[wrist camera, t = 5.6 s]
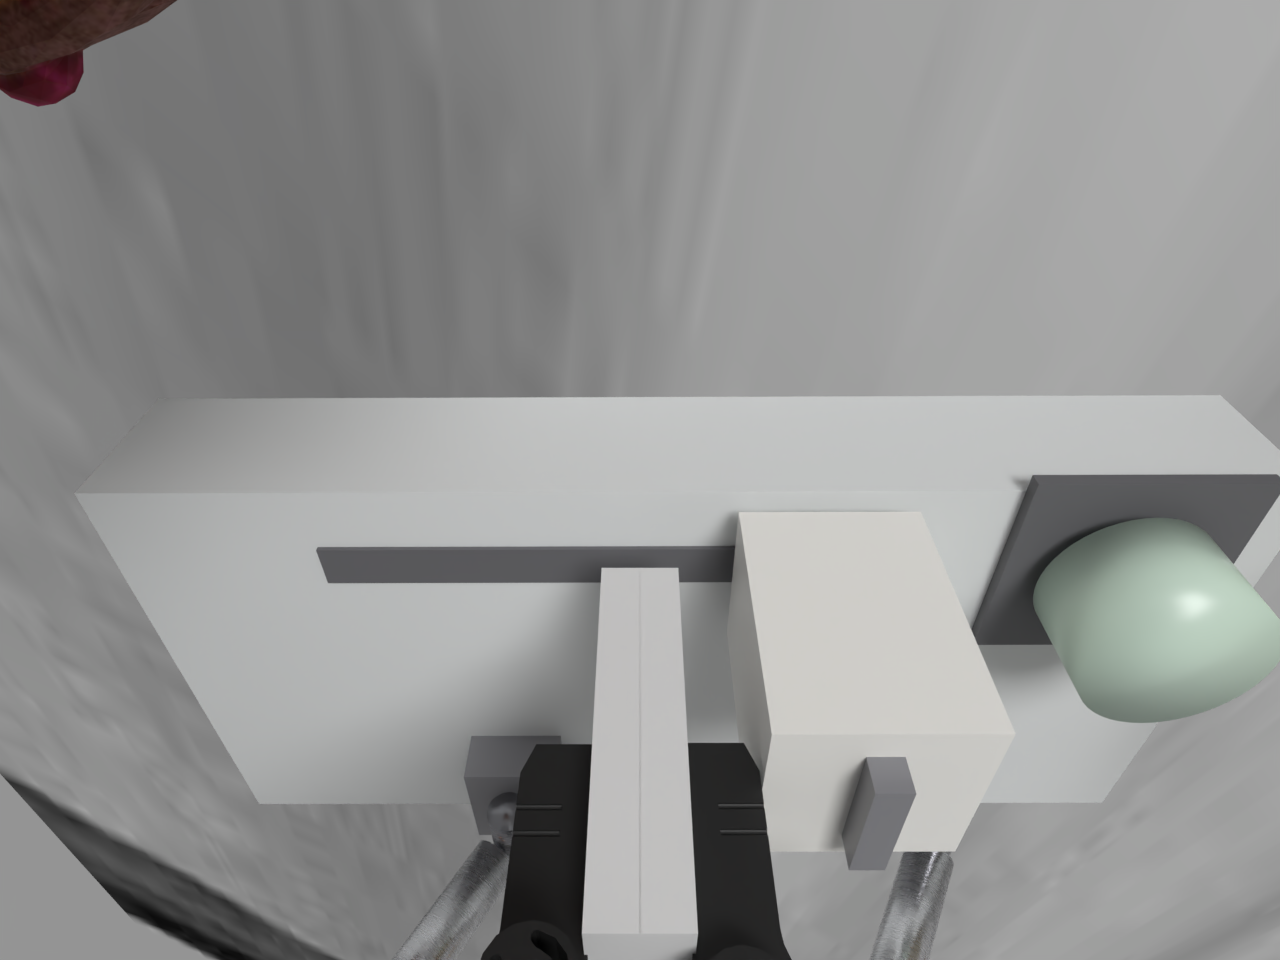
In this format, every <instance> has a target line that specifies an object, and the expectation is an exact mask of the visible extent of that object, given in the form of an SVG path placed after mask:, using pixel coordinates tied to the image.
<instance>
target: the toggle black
mask: <svg viewBox="0 0 1280 960" xmlns="http://www.w3.org/2000/svg"><path fill="white" fill-rule="evenodd" d="M950 854H951V852H903V854H902V857H901V860H900V863H899V866H898V870H897V873H896V876H895V879H894V882H893V885H892V889H891V892H890V895H889V898H888V901H887V904H886V907H885V911H884V914H883V917H882V920H881V923H880V926H879V930H878V933H877V936H876V939H875V942H874V945H873V949H872V952H871V955H870V958H869V960H929V958H930V954H931V951H932V947H933V943H934V939H935V935H936V932H937V928H938V924H939V920H940V916H941V912H942V909H943V905H944V901H945V897H946V893H947V890H948V886H949V882H950V878H951V874H952V871H953V867H954V863H953V860H952V858H951V857H950Z"/></svg>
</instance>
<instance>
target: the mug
mask: <svg viewBox="0 0 1280 960" xmlns="http://www.w3.org/2000/svg"><path fill="white" fill-rule="evenodd" d="M176 1H177V0H0V90H1V91H3V92H4V93H5V94H7V95H8V96H9V97H11V98H13V99H16V100H19V101H22V102H25V103H28V104H31V105H34V106H37V107H39V106H45V105H51V104H56V103H58V102H59V101H61V100H63V99H64V98H66V97H68V96H69V95H71V94H73V93H74V92H75V91H76V89H77V87H78V84H79V82H80V80H81V77H82V75H83V73H84V67H83V50H85V49H86V48H88V47H90V46H91V45H94V44H96V43H99V42H101V41H103V40H106V39H108V38H111V37H113V36H116V35H118V34H120V33H123V32H125V31H128V30H130V29H132V28H135V27H137V26H140V25H142V24H144V23H147V22H148V21H150V20H151V19H152V18H154V17H155V16H157V15H158V14H159V13H161V12H162V11H163V10H165V9H166V8H167V7H169V6H170V5H172V4H173V3H174V2H176Z"/></svg>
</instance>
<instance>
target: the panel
mask: <svg viewBox="0 0 1280 960" xmlns="http://www.w3.org/2000/svg"><path fill="white" fill-rule="evenodd" d="M74 494H75V496H76V497H77V499H78V501H79V502H80V504H81V506H82V507H83V509H84V511H85V512H86V514H87V516H88V517H89V519H90V521H91V522H92V524H93V526H94V527H95V529H96V531H97V533H98V534H99V536H100V538H101V539H102V541H103V543H104V544H105V546H106V548H107V549H108V551H109V553H110V554H111V556H112V558H113V559H114V561H115V563H116V564H117V566H118V568H119V569H120V571H121V573H122V574H123V576H124V578H125V580H126V581H127V583H128V585H129V586H130V588H131V590H132V591H133V593H134V595H135V596H136V598H137V600H138V601H139V603H140V605H141V606H142V608H143V610H144V611H145V613H146V615H147V616H148V618H149V620H150V621H151V623H152V625H153V626H154V628H155V630H156V632H157V633H158V635H159V637H160V638H161V640H162V642H163V643H164V645H165V647H166V648H167V650H168V652H169V653H170V655H171V657H172V658H173V660H174V662H175V663H176V665H177V667H178V668H179V670H180V672H181V673H182V675H183V677H184V679H185V680H186V682H187V684H188V685H189V687H190V689H191V690H192V692H193V694H194V695H195V697H196V699H197V700H198V702H199V704H200V705H201V707H202V709H203V710H204V712H205V714H206V715H207V717H208V719H209V720H210V722H211V724H212V725H213V727H214V729H215V731H216V732H217V734H218V736H219V737H220V739H221V741H222V742H223V744H224V746H225V747H226V749H227V751H228V752H229V754H230V756H231V757H232V759H233V761H234V762H235V764H236V766H237V767H238V769H239V771H240V772H241V774H242V776H243V777H244V779H245V781H246V783H247V784H248V786H249V788H250V789H251V791H252V793H253V794H254V796H255V798H256V799H257V801H258V803H259V804H471V806H472V810H473V814H474V818H475V821H476V825H477V829H478V832H479V835H491V831H490V827H489V823H488V819H487V809H488V806H489V804H490V802H491V801H492V800H493V799H494V798H495V797H496V796H498V795H500V794H502V793H506V792H513V793H517V794H518V787H519V779H520V772H521V770H522V769H523V767H524V765H525V763H526V762H527V760H528V758H529V756H530V755H531V753H532V751H533V749H534V747H535V746H536V744H592V737H593V718H594V700H595V681H596V663H597V644H598V626H599V607H600V589H601V570H602V568H678V572H679V590H680V609H681V627H682V646H683V665H684V683H685V702H686V720H687V739H688V743H739V737H738V728H737V719H736V710H735V701H734V692H733V683H732V674H731V665H730V656H729V647H728V638H727V625H728V615H729V605H730V595H731V585H732V575H733V565H734V555H735V545H736V535H737V524H738V514H739V512H921V513H922V516H923V518H924V520H925V523H926V525H927V527H928V530H929V532H930V534H931V537H932V539H933V541H934V544H935V546H936V548H937V551H938V553H939V555H940V558H941V560H942V562H943V565H944V567H945V569H946V572H947V574H948V577H949V579H950V581H951V584H952V586H953V588H954V591H955V593H956V595H957V598H958V600H959V602H960V605H961V607H962V609H963V612H964V614H965V616H966V619H967V621H968V623H969V626H970V628H971V630H972V633H973V635H974V637H975V640H976V642H977V644H978V647H979V649H980V651H981V654H982V656H983V658H984V661H985V663H986V666H987V668H988V670H989V673H990V675H991V677H992V680H993V682H994V684H995V687H996V689H997V691H998V694H999V696H1000V698H1001V701H1002V703H1003V705H1004V708H1005V710H1006V712H1007V715H1008V717H1009V719H1010V722H1011V724H1012V726H1013V729H1014V731H1015V733H1016V735H1015V737H1014V738H1013V740H1012V742H1011V744H1010V746H1009V748H1008V750H1007V752H1006V754H1005V756H1004V758H1003V760H1002V762H1001V764H1000V766H999V768H998V769H997V771H996V773H995V775H994V777H993V779H992V781H991V783H990V785H989V787H988V789H987V791H986V793H985V795H984V797H983V799H982V800H981V802H980V803H1102V802H1103V801H1104V799H1105V798H1106V796H1107V795H1108V793H1109V792H1110V791H1111V789H1112V788H1113V786H1114V785H1115V784H1116V782H1117V781H1118V779H1119V778H1120V776H1121V775H1122V774H1123V772H1124V771H1125V769H1126V768H1127V766H1128V765H1129V764H1130V762H1131V761H1132V759H1133V758H1134V757H1135V755H1136V754H1137V752H1138V751H1139V749H1140V748H1141V747H1142V745H1143V744H1144V742H1145V741H1146V739H1147V738H1148V737H1149V735H1150V734H1151V732H1152V731H1153V730H1154V728H1155V727H1156V725H1157V724H1158V722H1154V723H1128V722H1120V721H1115V720H1111V719H1108V718H1105V717H1102V716H1100V715H1098V714H1096V713H1094V712H1093V711H1091V710H1090V709H1089V708H1087V707H1086V705H1085V704H1084V703H1083V702H1082V700H1081V698H1080V696H1079V694H1078V692H1077V690H1076V689H1075V687H1074V685H1073V683H1072V681H1071V679H1070V677H1069V675H1068V673H1067V671H1066V669H1065V667H1064V666H1063V664H1062V662H1061V660H1060V658H1059V656H1058V654H1057V652H1056V650H1055V648H1054V646H1053V644H1052V643H1051V641H1050V639H1049V637H1048V635H1047V633H1046V631H1045V629H1044V627H1043V625H1042V623H1041V621H1040V620H1039V618H1038V616H1037V614H1036V612H1035V609H1034V605H1033V594H1034V589H1035V586H1036V583H1037V581H1038V579H1039V577H1040V576H1041V574H1042V573H1043V571H1044V570H1045V568H1046V567H1047V566H1048V565H1049V564H1050V563H1051V562H1052V561H1053V559H1054V558H1056V557H1057V556H1058V555H1059V554H1060V553H1061V552H1062V551H1064V550H1065V549H1066V548H1068V547H1069V546H1071V545H1072V544H1074V543H1075V542H1077V541H1079V540H1080V539H1082V538H1084V537H1086V536H1088V535H1090V534H1092V533H1094V532H1096V531H1099V530H1101V529H1104V528H1106V527H1109V526H1112V525H1115V524H1118V523H1122V522H1127V521H1131V520H1137V519H1144V518H1171V519H1178V520H1182V521H1186V522H1189V523H1192V524H1194V525H1196V526H1198V527H1200V528H1201V529H1203V530H1204V531H1206V532H1207V534H1208V535H1209V536H1210V537H1211V538H1212V539H1213V540H1214V541H1215V543H1216V544H1217V545H1218V546H1219V547H1220V549H1221V550H1222V551H1223V552H1224V553H1225V555H1226V556H1227V557H1228V558H1229V559H1230V561H1231V562H1232V563H1233V564H1234V565H1235V567H1236V568H1237V569H1238V570H1239V571H1240V573H1241V574H1242V575H1243V576H1244V577H1245V578H1246V580H1247V581H1248V582H1249V583H1250V584H1251V586H1252V587H1254V586H1255V584H1256V583H1257V582H1258V580H1259V579H1260V577H1261V576H1262V575H1263V573H1264V572H1265V570H1266V569H1267V567H1268V566H1269V565H1270V563H1271V562H1272V560H1273V559H1274V557H1275V556H1276V555H1277V553H1278V552H1279V550H1280V450H1279V449H1278V448H1277V447H1276V446H1275V445H1273V444H1272V443H1271V442H1270V441H1269V440H1268V439H1267V438H1266V437H1265V436H1264V435H1263V434H1262V433H1261V432H1260V431H1258V430H1257V429H1256V428H1255V427H1254V426H1253V425H1252V424H1251V423H1250V422H1249V421H1248V420H1247V419H1246V418H1244V417H1243V416H1242V415H1241V414H1240V413H1239V412H1238V411H1237V410H1236V409H1235V408H1234V407H1233V406H1232V405H1231V404H1229V403H1228V402H1227V401H1226V400H1225V399H1224V398H1223V397H1222V396H1221V395H1105V396H806V397H507V398H208V399H158V400H157V401H156V402H155V403H154V404H153V405H152V406H151V408H150V409H149V410H148V411H147V412H146V413H145V414H144V415H143V417H142V418H141V419H140V420H139V421H138V422H137V423H136V424H135V426H134V427H133V428H132V429H131V430H130V431H129V432H128V433H127V435H126V436H125V437H124V438H123V439H122V440H121V441H120V442H119V444H118V445H117V446H116V447H115V448H114V449H113V450H112V451H111V453H110V454H109V455H108V456H107V457H106V458H105V459H104V460H103V462H102V463H101V464H100V465H99V466H98V467H97V468H96V469H95V471H94V472H93V473H92V474H91V475H90V476H89V477H88V478H87V480H86V481H85V482H84V483H83V484H82V485H81V486H80V487H79V489H78V490H77V491H76V492H75V493H74Z"/></svg>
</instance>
